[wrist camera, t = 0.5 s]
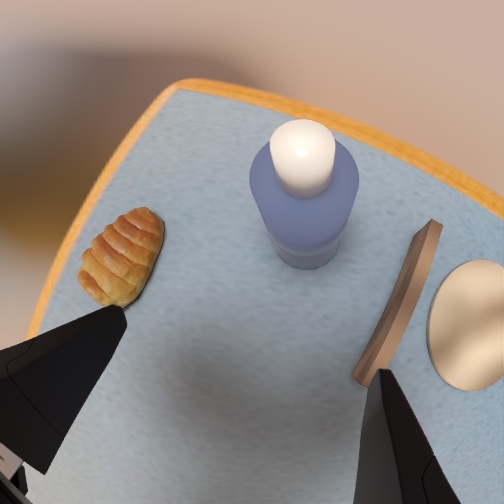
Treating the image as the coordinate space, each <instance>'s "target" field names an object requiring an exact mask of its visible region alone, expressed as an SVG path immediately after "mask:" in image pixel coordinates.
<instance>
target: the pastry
mask: <svg viewBox="0 0 504 504" xmlns="http://www.w3.org/2000/svg"><path fill="white" fill-rule="evenodd" d="M163 235H164V226H163V222H162V220H161V219H160V218H159V217H158V216H157V215H155V214H154V213H152V212H151V211H150V210H149V209H148V208H146V207H141V208H138V209H133V210H132V211H130V212H128V213H127V214H125V215H121V216H119V217H118V218H117V220H116V221H115V222H114V223H113V224H110V225H107V226H106V227H105V229H104V232H103V233H101V234H99V235H98V236H97V237H96V238H94V239H93V240H92V248H89V249H87V250H86V251H85V252H84V254H83V255H82V261H83V265H82V267H81V268H80V270H79V272H77V280H78V282H79V284H80V285H81V287H82V288H83V289H84V291H85V292H86V293H87V294H88V295H90V296H91V297H92V298H93V299H94V300H95V301H97V302H98V303H99V304H101V305H102V306H104V307H106V306H108V305H111V304H116V305H118V306H121V307H122V308H124V307H125V306H127V305H128V304H129V303H131V302H132V301H133V300H135V299H136V297H137V296H138V294H139V293H140V292H141V290H143V288H144V286H145V283H146V281H147V280H148V277H149V275H150V273H151V271H152V269H153V266H154V263H155V261H156V258H157V256H158V254H159V251H160V249H161V246H162V243H163Z"/></svg>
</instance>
